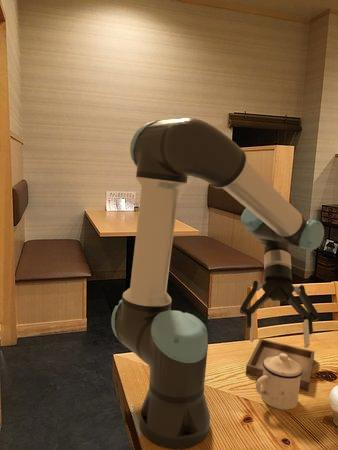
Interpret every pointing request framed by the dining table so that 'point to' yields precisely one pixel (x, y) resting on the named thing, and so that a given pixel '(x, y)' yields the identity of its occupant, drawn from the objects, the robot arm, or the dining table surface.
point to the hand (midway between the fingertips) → (279, 343)
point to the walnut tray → (274, 348)
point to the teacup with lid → (280, 381)
